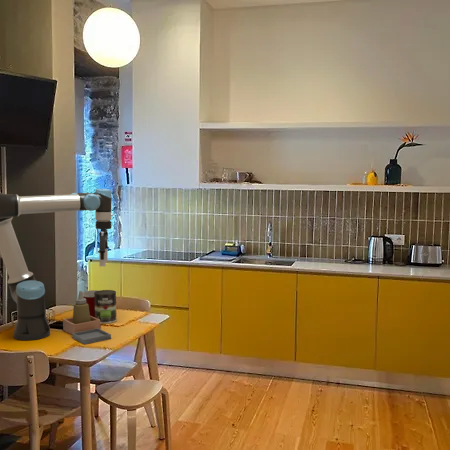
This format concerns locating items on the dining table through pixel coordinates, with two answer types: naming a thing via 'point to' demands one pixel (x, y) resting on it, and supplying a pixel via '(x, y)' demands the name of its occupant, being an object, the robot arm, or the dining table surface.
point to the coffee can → (105, 306)
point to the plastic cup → (90, 301)
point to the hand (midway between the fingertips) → (103, 264)
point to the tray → (91, 336)
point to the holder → (80, 325)
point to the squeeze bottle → (81, 310)
